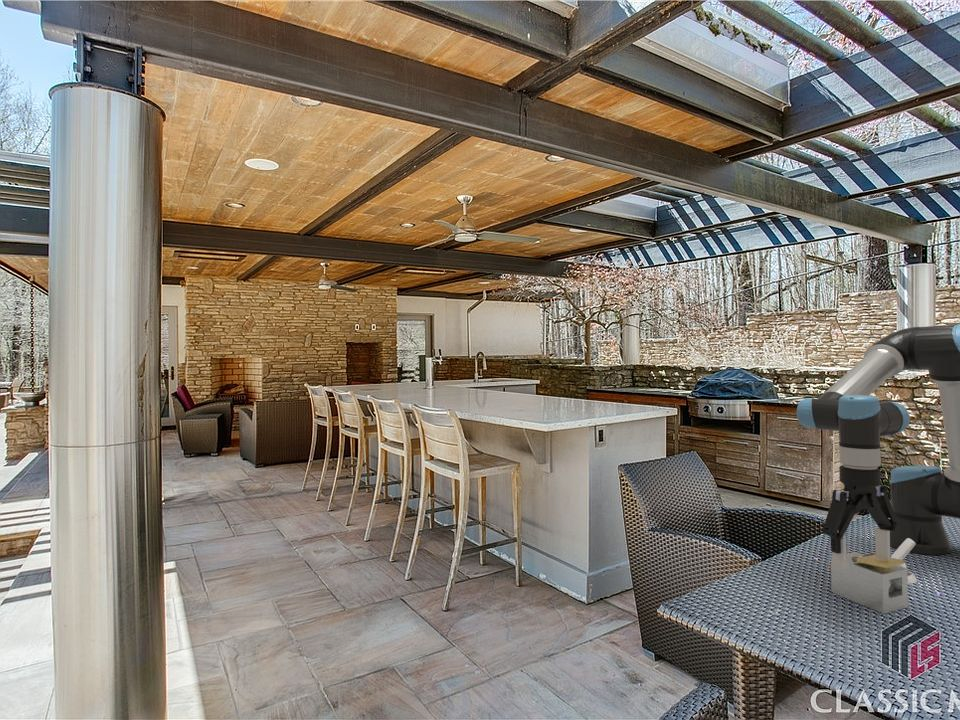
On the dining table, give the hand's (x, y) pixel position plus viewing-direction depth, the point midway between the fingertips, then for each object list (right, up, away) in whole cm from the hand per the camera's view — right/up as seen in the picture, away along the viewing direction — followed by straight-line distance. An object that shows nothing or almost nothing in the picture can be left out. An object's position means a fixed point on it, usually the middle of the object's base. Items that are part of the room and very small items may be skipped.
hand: (861, 563), depth 123 cm
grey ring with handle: (+21, -10, +18) cm, 30 cm away
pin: (+5, -8, +7) cm, 12 cm away
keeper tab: (+6, -1, +4) cm, 7 cm away
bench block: (+6, -11, +6) cm, 13 cm away
